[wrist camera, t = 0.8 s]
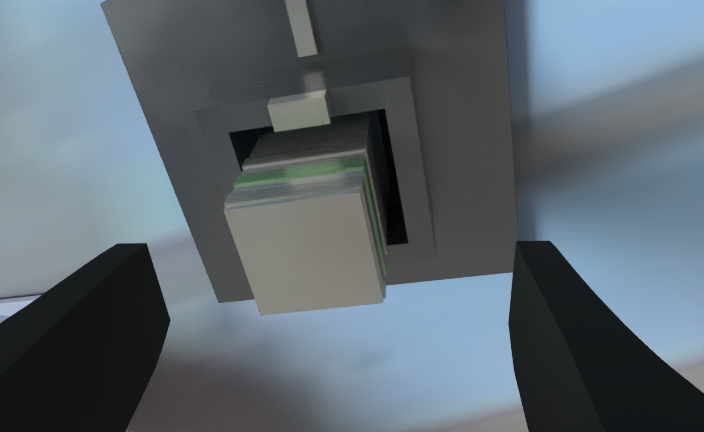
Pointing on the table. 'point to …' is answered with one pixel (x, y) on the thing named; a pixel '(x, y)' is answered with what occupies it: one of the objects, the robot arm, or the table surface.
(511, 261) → the stand base
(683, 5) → the table surface
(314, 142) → the column
